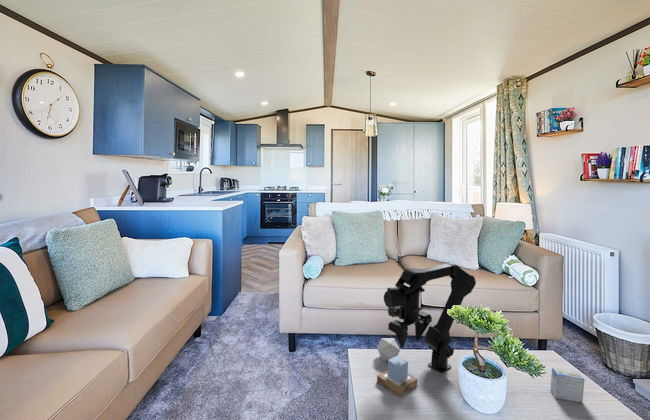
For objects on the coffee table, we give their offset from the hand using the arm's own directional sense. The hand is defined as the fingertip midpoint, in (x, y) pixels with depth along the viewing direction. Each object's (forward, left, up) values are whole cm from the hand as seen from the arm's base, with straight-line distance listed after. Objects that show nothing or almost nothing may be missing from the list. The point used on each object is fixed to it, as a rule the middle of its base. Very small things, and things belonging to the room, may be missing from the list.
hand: (409, 343), depth 118 cm
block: (+8, +1, -9) cm, 12 cm away
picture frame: (+8, +1, -12) cm, 14 cm away
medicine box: (-33, +40, -12) cm, 53 cm away
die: (-2, -12, -12) cm, 17 cm away
